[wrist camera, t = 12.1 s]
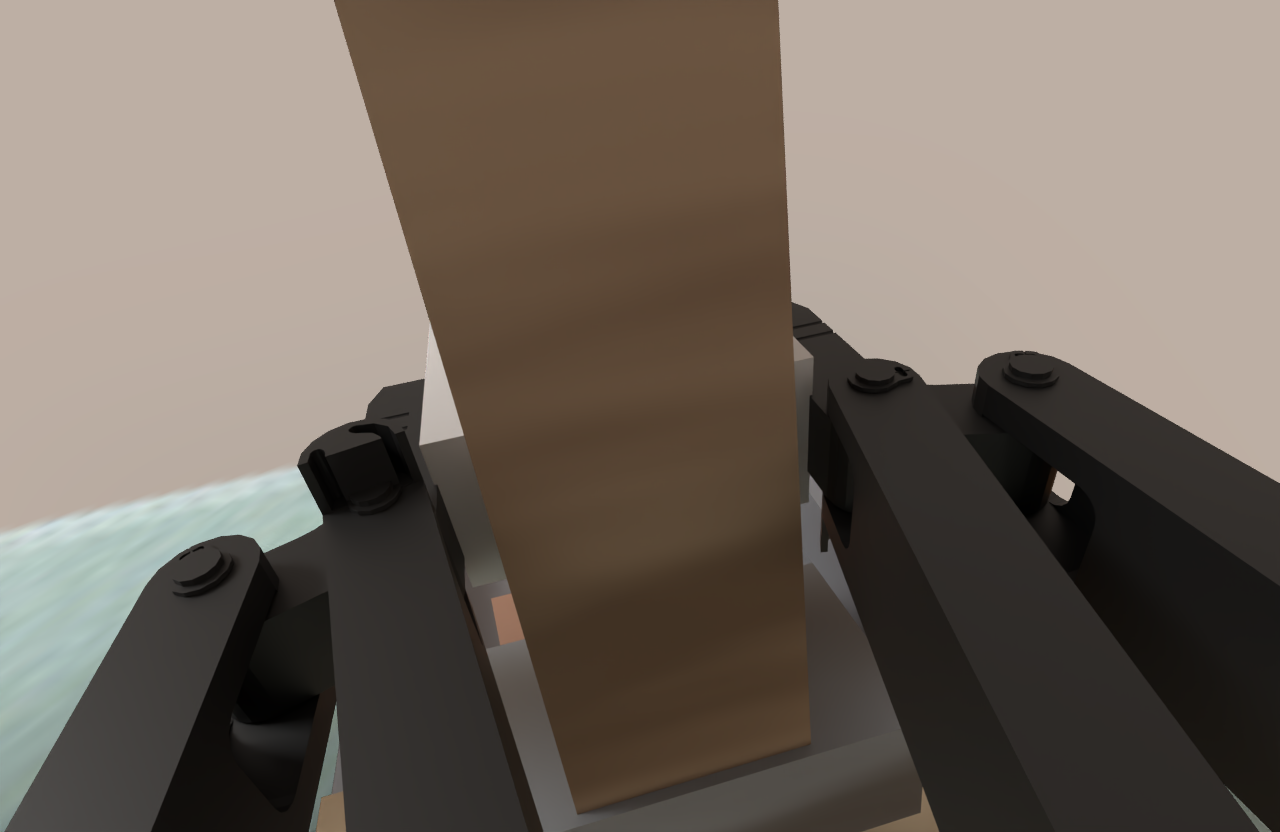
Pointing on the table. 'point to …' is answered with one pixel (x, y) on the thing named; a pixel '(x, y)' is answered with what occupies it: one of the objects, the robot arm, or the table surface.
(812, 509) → the tray
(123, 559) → the table surface
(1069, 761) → the robot arm
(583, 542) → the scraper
